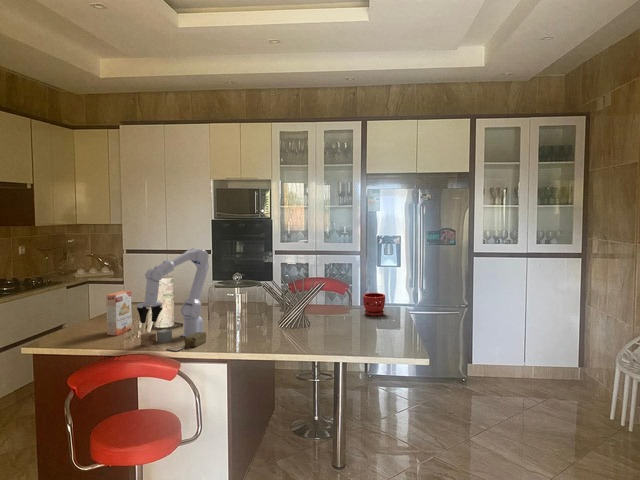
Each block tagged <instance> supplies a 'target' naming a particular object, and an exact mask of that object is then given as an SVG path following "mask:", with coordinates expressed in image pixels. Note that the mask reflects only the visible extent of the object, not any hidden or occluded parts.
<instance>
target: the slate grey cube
mask: <svg viewBox="0 0 640 480" xmlns="http://www.w3.org/2000/svg"><path fill="white" fill-rule="evenodd" d="M171 341H173V330H170V329H166V328H164V329H160V330H157V331H156V343H157V342H158V343H168V342H171Z"/></svg>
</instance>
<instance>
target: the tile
mask: <svg viewBox="0 0 640 480" xmlns="http://www.w3.org/2000/svg"><path fill="white" fill-rule="evenodd" d="M186 348H187V347H185V346H179V345H176V346H172V347H169V348H165V351H168V350H170V351H169V352H173V351H174V353H177V351H178V352H180V350H181V351H183V349H184V350H186Z"/></svg>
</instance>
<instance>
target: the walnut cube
mask: <svg viewBox="0 0 640 480" xmlns="http://www.w3.org/2000/svg"><path fill="white" fill-rule="evenodd" d="M156 344H157V333H154V332H150V331H149V332H144V333H141V334H140V345H141V346H145V347H150V346H155V345H156Z"/></svg>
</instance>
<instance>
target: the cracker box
mask: <svg viewBox="0 0 640 480" xmlns="http://www.w3.org/2000/svg"><path fill="white" fill-rule="evenodd" d="M105 297H106V298H105V300H106V303H105V304H106V335H107V336H117V337H118V336H119V335H121V334H124V333H126V332H128V331H127V330H129V329H131V328H132V329H133V326H132V325H133V324H132V323H133V321H132V318H133V317H132V291H131V290H120V291H117V292H112V293H110V294H109V293H108V294H106V295H105ZM132 329H131V330H132ZM125 331H126V332H125ZM129 331H130V330H129Z"/></svg>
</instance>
